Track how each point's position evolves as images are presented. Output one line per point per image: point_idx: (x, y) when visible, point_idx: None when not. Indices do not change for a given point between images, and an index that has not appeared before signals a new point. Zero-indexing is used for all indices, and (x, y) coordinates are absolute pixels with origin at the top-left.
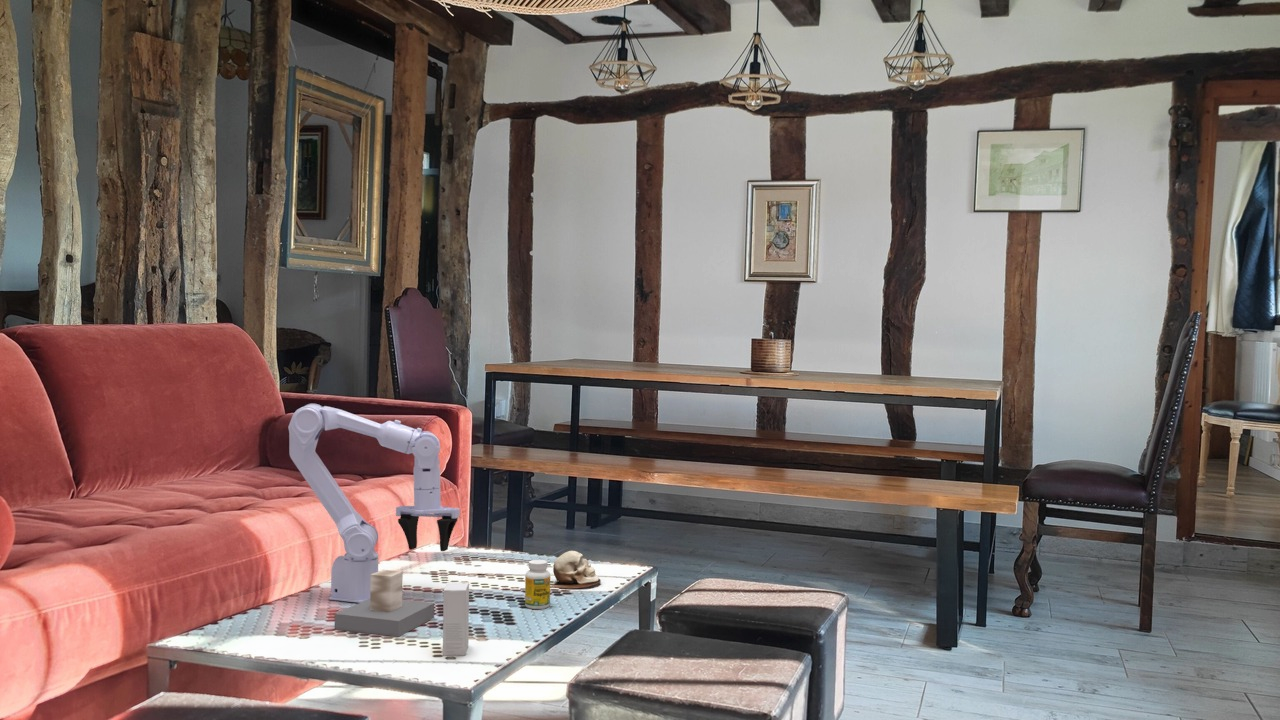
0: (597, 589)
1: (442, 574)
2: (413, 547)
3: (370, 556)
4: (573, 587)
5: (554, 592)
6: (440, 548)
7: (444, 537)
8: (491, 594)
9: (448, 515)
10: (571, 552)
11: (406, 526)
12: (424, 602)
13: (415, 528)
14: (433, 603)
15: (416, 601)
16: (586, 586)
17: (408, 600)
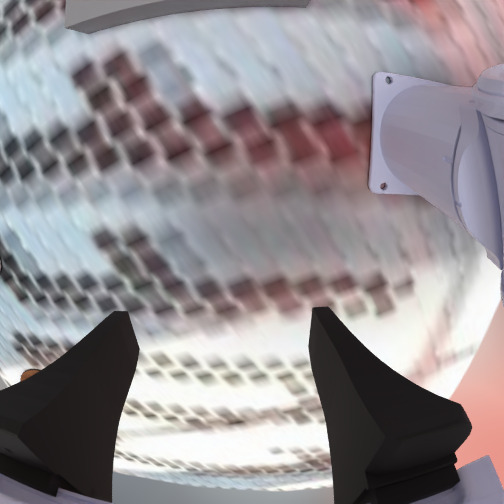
0: (13, 373)
1: (313, 403)
2: (312, 328)
3: (470, 111)
4: (31, 373)
5: (33, 349)
6: (120, 318)
7: (64, 356)
8: (103, 308)
9: (19, 486)
10: None
11: (377, 400)
12: (94, 14)
13: (333, 436)
14: (65, 24)
15: (124, 6)
16: (22, 377)
17: (157, 1)
